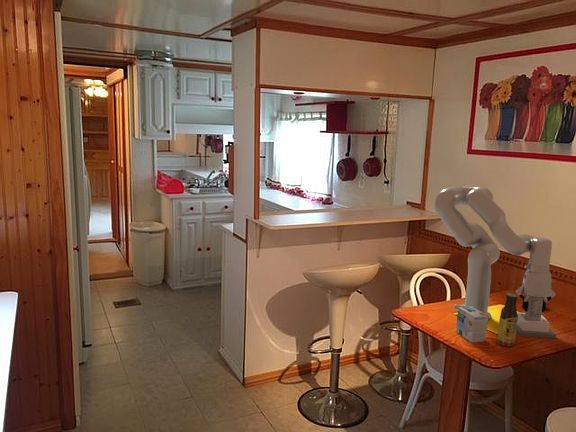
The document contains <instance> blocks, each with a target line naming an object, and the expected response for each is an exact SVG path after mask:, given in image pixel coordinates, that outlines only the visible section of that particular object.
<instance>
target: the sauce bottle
mask: <svg viewBox="0 0 576 432" xmlns="http://www.w3.org/2000/svg"><path fill="white" fill-rule="evenodd" d="M518 298H519V295H518V294H517V293H511V292H509V293H506V295H505V303H504V306H503V307H502V308H501V310H500V316H499V320H498V328H497V336H496V338H497V339H496V340H497V341H496V342H497V344H498V345H500V346H503V347H513V346H514V344H515V341H516V335H517V333H516V328H517V321H518V315H517V312H518V311H517V301H518Z"/></svg>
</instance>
